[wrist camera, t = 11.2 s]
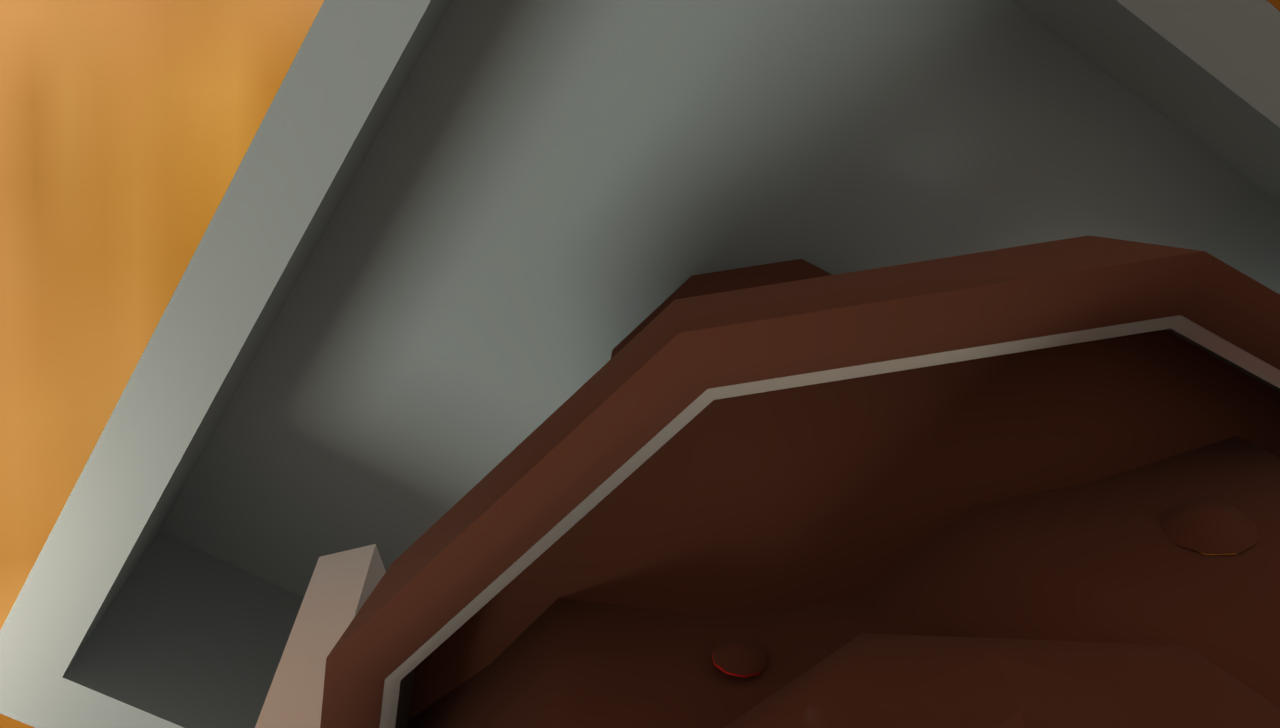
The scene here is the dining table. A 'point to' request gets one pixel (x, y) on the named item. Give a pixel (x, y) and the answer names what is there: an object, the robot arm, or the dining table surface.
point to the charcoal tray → (574, 265)
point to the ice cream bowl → (871, 513)
